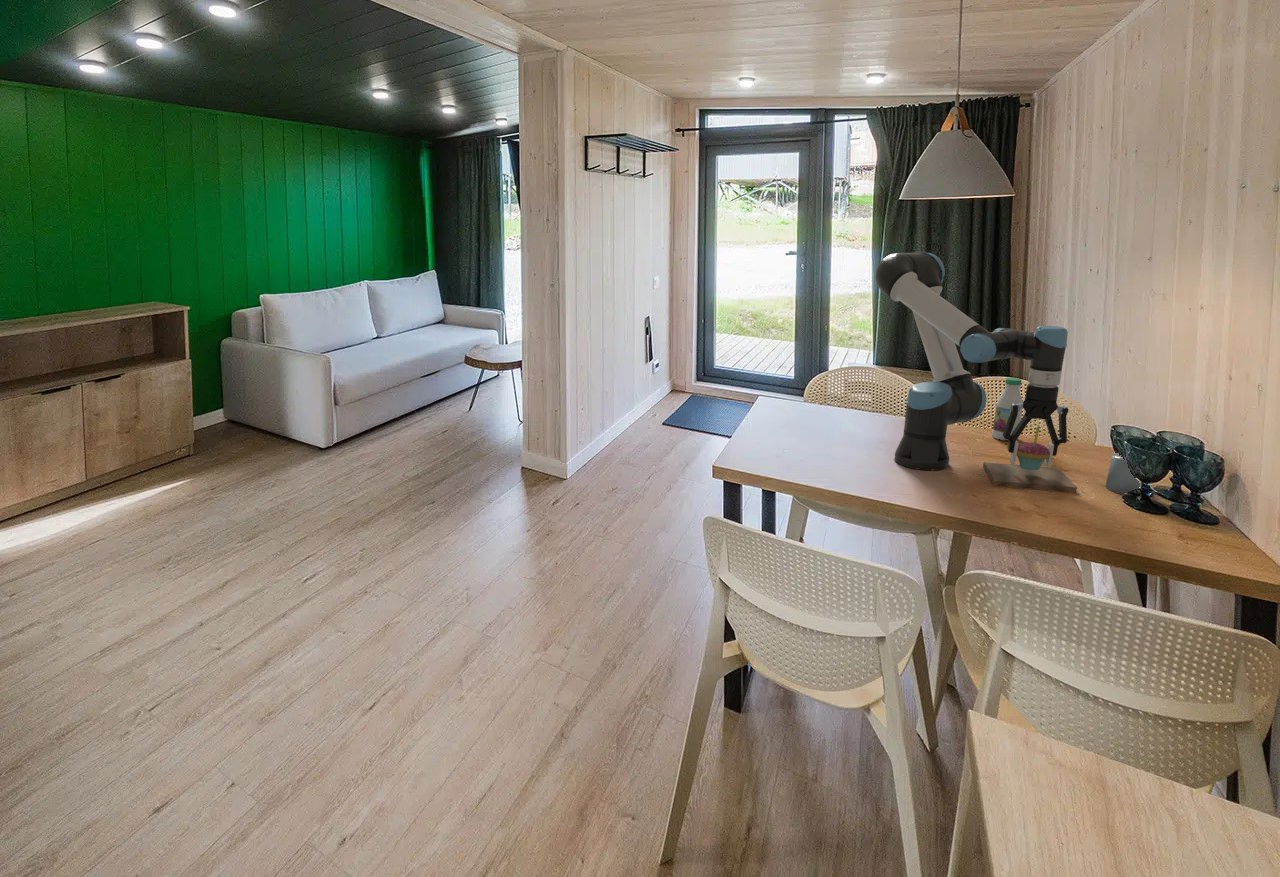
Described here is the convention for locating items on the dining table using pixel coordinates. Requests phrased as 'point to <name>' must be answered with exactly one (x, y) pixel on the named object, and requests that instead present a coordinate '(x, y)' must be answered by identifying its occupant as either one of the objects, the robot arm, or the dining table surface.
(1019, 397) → the milk bottle
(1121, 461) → the grey rounded block
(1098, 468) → the dining table surface
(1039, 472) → the walnut board
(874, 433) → the dining table surface
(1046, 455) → the cupcake
